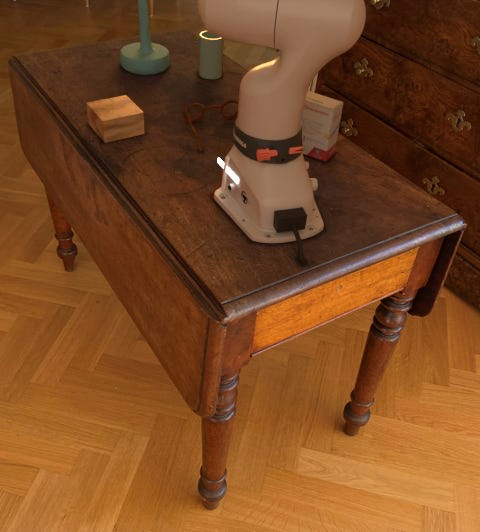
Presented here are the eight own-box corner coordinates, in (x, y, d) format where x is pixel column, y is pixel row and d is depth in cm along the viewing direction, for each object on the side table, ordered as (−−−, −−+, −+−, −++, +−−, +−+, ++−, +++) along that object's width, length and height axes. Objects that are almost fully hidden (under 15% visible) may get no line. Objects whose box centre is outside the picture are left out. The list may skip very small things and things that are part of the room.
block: (144, 134, 129) (143, 112, 125) (104, 143, 125) (102, 121, 122) (127, 115, 134) (125, 94, 131) (88, 124, 130) (86, 102, 127)
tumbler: (225, 78, 152) (227, 38, 146) (202, 80, 151) (203, 40, 144) (218, 68, 157) (219, 29, 150) (196, 70, 155) (196, 31, 148)
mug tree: (119, 56, 158) (112, -49, 142) (167, 55, 161) (165, -47, 144) (121, 76, 149) (113, -33, 133) (171, 75, 151) (170, -32, 135)
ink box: (335, 153, 128) (345, 101, 120) (325, 162, 125) (334, 110, 117) (300, 140, 131) (307, 88, 123) (289, 149, 128) (295, 96, 120)
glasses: (239, 117, 137) (240, 96, 134) (258, 146, 128) (260, 124, 125) (182, 123, 133) (182, 102, 130) (198, 153, 124) (199, 131, 121)
